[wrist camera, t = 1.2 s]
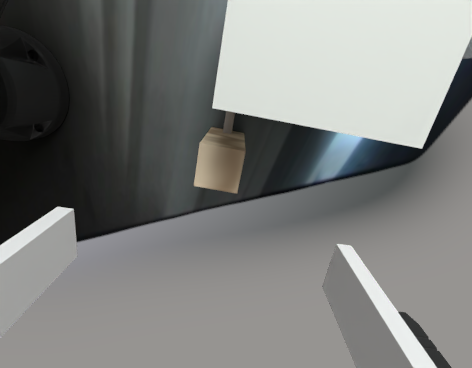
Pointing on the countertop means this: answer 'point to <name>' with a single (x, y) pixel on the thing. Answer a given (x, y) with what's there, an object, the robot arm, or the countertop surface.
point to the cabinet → (343, 63)
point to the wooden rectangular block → (221, 158)
